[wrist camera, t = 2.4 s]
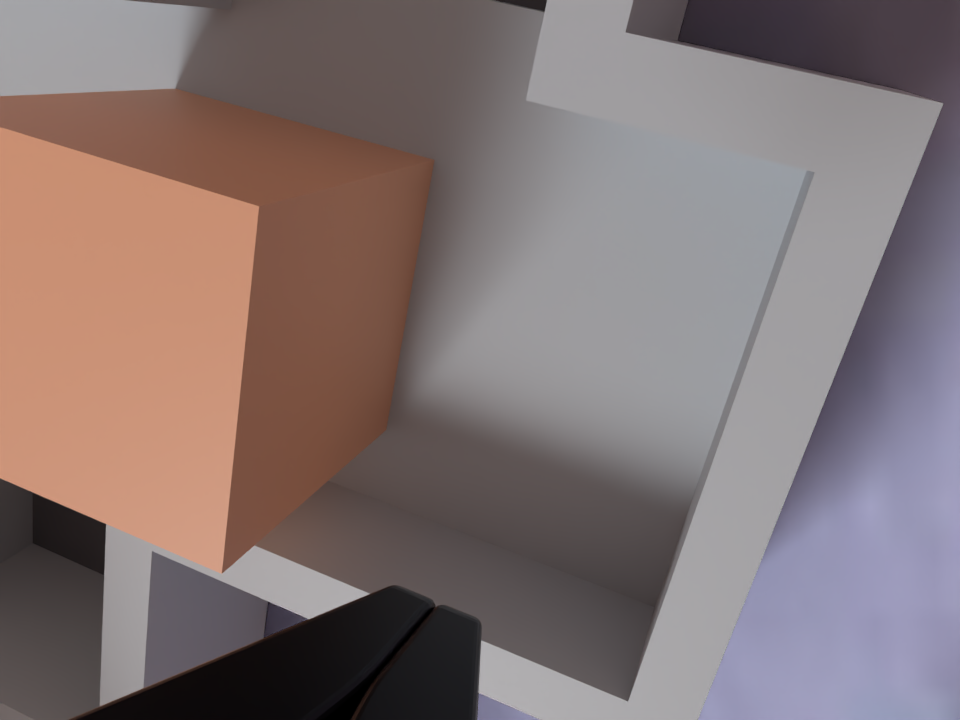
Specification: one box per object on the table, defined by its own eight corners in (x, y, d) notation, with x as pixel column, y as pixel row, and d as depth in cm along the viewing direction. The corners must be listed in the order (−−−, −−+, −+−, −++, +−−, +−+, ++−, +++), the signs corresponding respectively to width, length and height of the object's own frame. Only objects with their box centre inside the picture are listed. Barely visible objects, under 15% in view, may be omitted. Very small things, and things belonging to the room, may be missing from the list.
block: (434, 160, 14) (258, 206, 9) (386, 429, 16) (221, 573, 11) (174, 88, 15) (-88, 100, 11) (160, 347, 17) (-69, 448, 13)
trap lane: (1105, -450, 11) (1285, -758, 7) (619, 835, 20) (571, 1035, 16) (-199, -543, 16) (-537, -746, 12) (-114, 499, 25) (-291, 584, 21)
